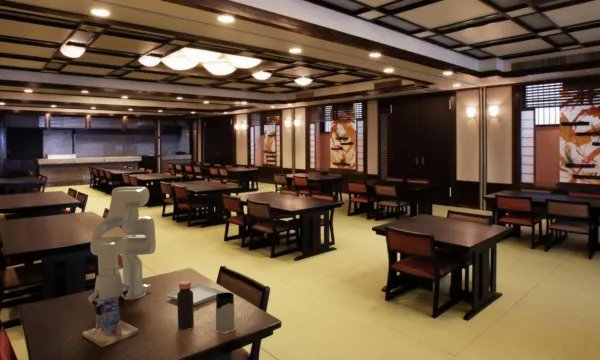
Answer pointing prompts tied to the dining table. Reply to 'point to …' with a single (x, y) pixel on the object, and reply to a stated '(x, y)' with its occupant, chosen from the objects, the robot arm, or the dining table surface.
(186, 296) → the bottle
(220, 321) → the glass holder
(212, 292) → the salad plate
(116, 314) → the ink cartridge box
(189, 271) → the dining table surface
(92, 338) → the pin board
